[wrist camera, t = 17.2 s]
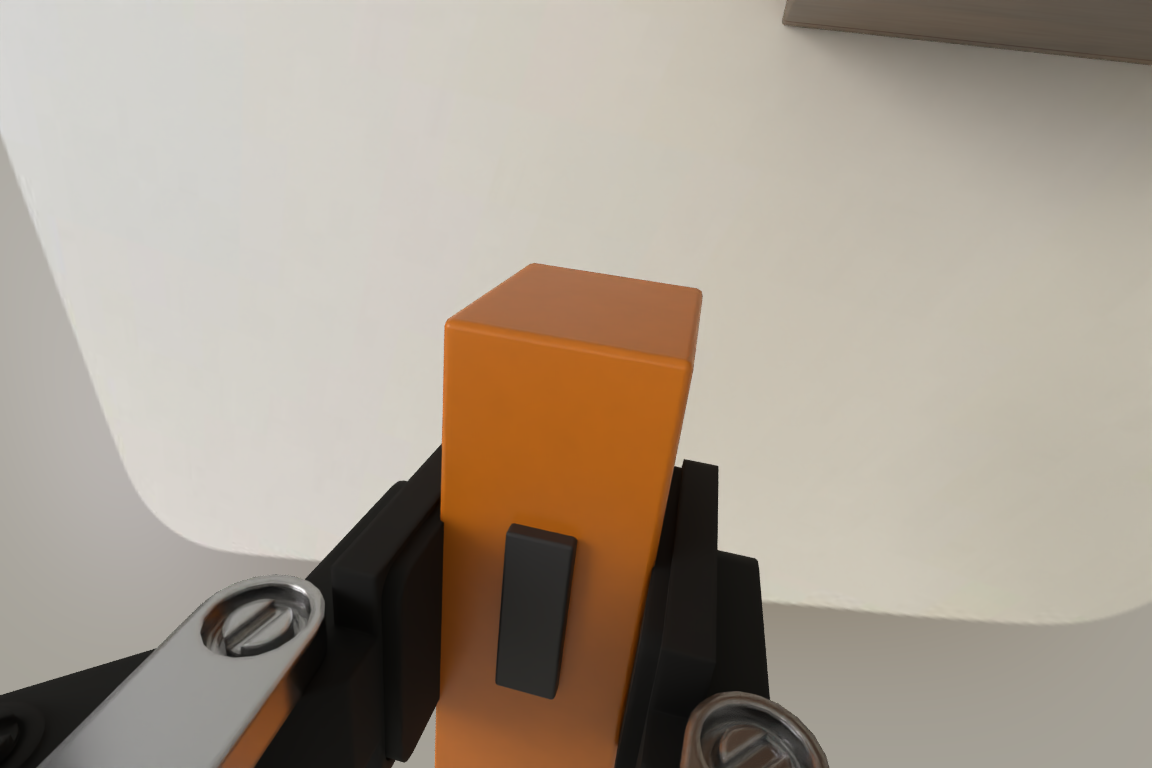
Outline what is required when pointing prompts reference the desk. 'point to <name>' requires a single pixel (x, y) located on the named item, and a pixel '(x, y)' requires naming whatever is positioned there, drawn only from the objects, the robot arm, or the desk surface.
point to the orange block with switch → (554, 508)
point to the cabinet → (995, 24)
